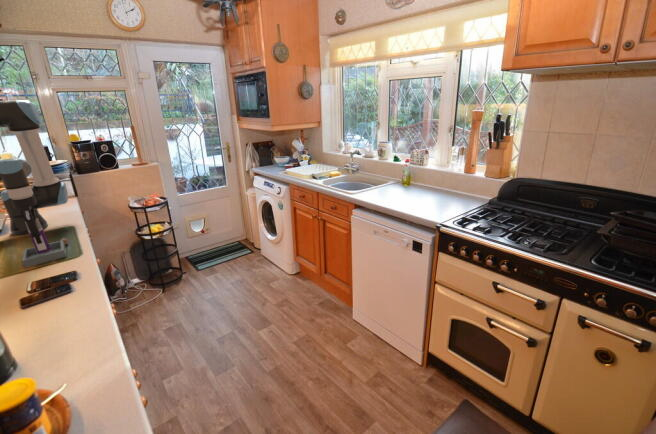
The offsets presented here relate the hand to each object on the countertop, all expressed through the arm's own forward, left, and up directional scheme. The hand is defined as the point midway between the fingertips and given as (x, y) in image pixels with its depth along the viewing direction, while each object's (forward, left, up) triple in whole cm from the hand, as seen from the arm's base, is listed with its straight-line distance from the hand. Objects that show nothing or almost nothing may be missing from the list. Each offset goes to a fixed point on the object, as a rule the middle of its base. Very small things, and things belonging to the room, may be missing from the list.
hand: (42, 247), depth 145 cm
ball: (-9, +7, -4) cm, 12 cm away
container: (0, 0, -2) cm, 2 cm away
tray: (0, 0, -4) cm, 4 cm away
